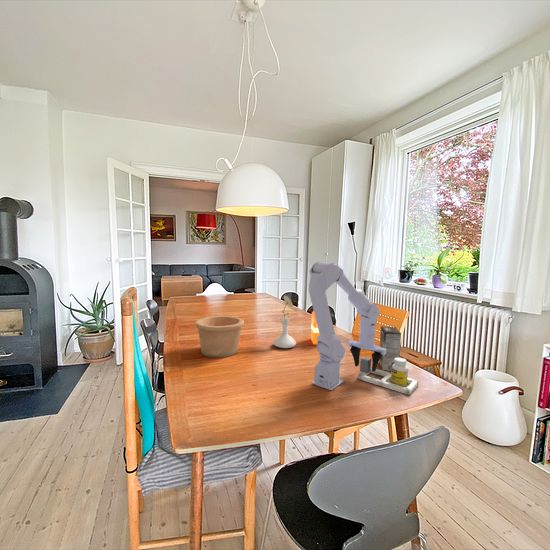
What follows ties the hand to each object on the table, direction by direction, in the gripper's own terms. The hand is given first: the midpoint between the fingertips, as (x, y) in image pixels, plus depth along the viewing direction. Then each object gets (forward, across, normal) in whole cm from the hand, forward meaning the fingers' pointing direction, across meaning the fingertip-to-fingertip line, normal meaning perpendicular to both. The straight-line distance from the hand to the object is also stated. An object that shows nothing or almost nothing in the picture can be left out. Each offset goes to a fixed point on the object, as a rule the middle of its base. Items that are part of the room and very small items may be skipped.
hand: (365, 368), depth 117 cm
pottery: (+3, +61, +21) cm, 65 cm away
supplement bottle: (+3, -13, 0) cm, 13 cm away
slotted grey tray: (+3, -8, 0) cm, 9 cm away
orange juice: (+3, +35, -24) cm, 43 cm away
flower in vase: (+3, +44, -6) cm, 45 cm away
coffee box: (+3, -4, -15) cm, 16 cm away
